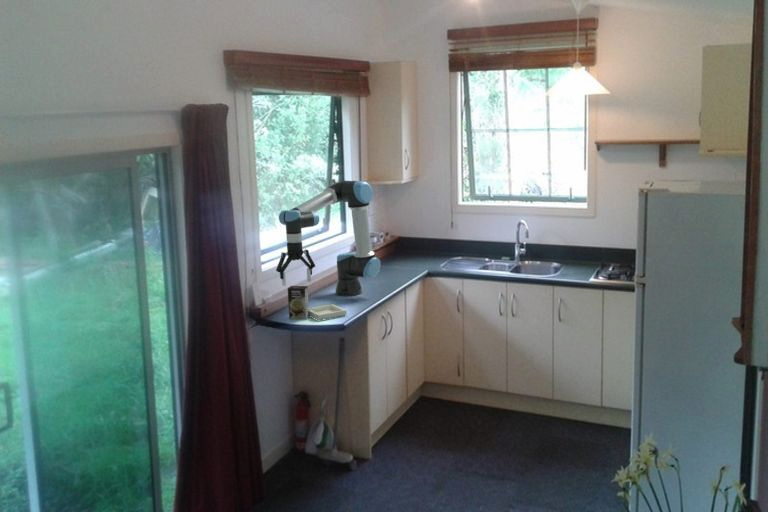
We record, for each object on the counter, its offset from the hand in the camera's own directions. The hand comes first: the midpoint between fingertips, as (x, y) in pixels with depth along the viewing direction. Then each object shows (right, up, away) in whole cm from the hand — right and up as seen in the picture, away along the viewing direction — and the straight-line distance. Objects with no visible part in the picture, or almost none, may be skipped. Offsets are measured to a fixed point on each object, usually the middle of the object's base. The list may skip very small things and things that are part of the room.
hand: (296, 283), depth 372 cm
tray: (+14, -16, +6) cm, 23 cm away
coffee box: (+1, -18, +4) cm, 18 cm away
